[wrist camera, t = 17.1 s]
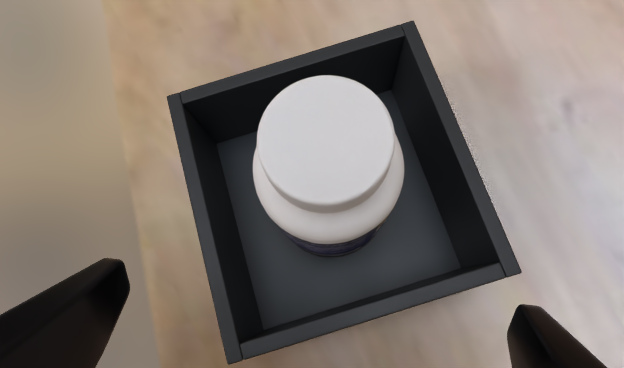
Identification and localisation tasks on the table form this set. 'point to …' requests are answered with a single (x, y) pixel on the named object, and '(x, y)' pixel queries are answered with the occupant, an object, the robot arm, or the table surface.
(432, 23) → the table surface
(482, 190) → the storage bin
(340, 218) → the pill bottle
